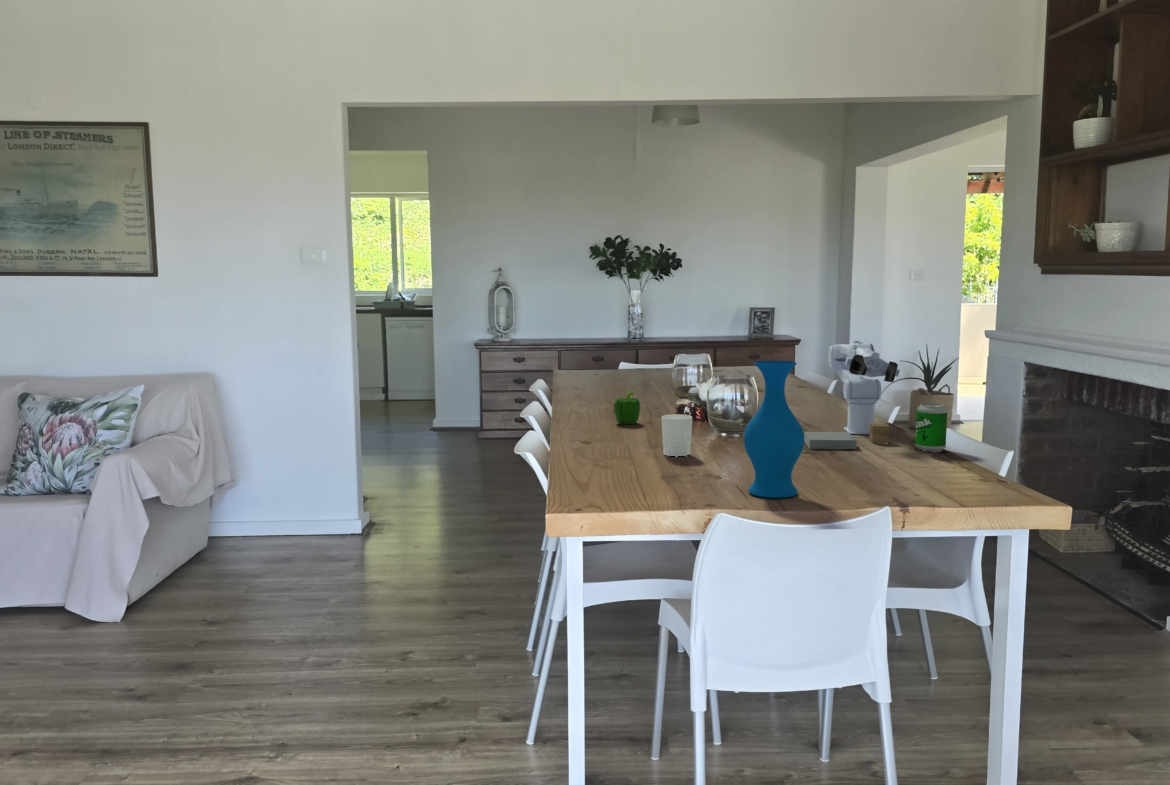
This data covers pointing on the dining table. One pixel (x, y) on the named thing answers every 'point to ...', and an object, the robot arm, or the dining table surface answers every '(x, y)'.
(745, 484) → the dining table surface
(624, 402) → the bell pepper
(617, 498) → the dining table surface
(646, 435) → the dining table surface
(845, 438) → the plinth
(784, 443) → the vase
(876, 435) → the walnut cube
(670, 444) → the white cup
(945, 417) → the soda can
